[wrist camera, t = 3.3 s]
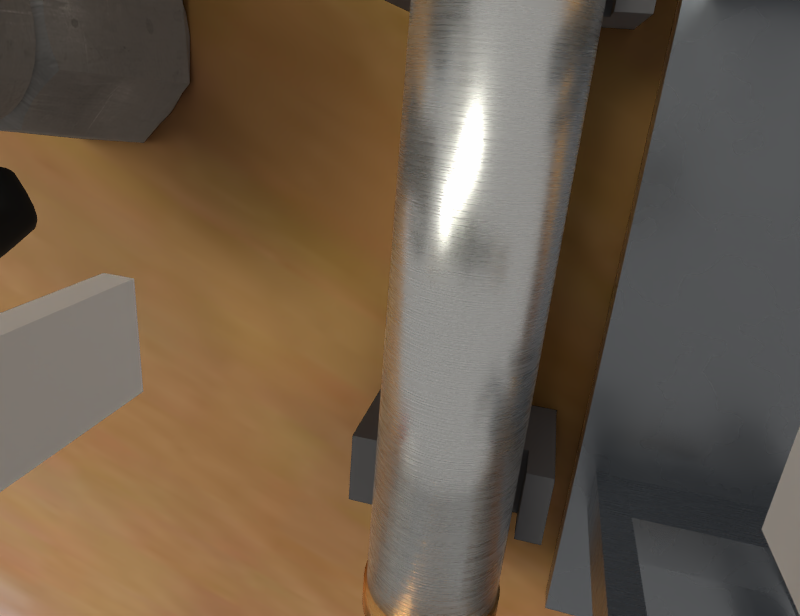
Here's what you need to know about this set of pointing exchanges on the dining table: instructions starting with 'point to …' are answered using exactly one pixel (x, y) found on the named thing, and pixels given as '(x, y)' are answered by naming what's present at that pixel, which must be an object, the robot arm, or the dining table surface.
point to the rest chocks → (623, 10)
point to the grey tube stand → (697, 338)
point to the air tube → (470, 287)
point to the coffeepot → (85, 78)
